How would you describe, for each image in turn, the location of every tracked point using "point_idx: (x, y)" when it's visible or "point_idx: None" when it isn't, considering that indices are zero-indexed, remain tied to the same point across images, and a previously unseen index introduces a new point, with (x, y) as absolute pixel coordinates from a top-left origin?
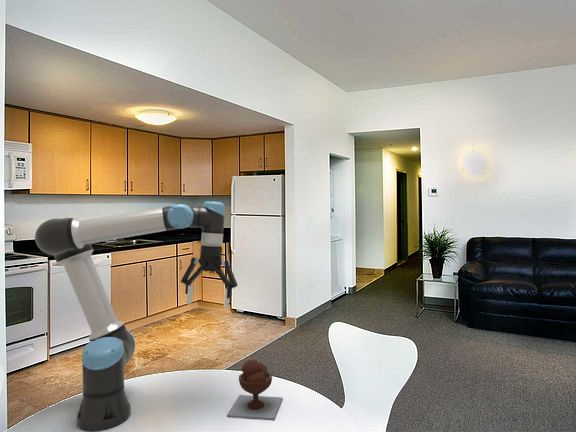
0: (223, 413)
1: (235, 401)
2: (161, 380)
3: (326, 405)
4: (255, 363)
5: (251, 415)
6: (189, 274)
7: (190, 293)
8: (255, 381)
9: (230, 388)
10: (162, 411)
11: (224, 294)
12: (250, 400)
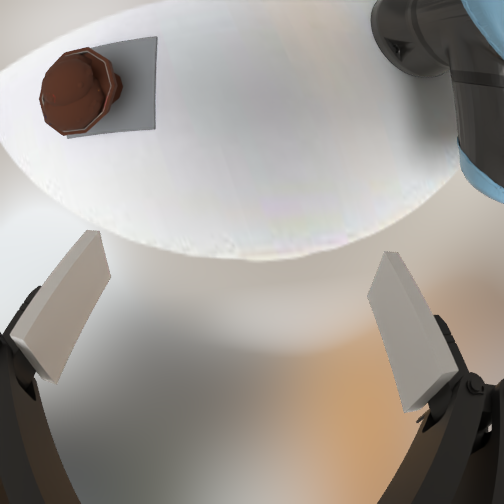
0: (168, 48)
1: (153, 95)
2: (369, 196)
3: (7, 138)
4: (46, 78)
5: (105, 48)
6: (468, 481)
7: (406, 324)
8: (64, 56)
9: (190, 166)
10: (314, 44)
11: (49, 300)
12: (122, 107)
